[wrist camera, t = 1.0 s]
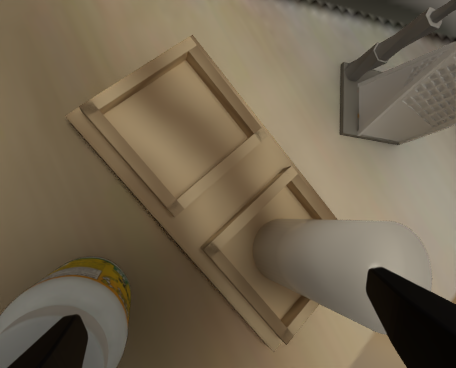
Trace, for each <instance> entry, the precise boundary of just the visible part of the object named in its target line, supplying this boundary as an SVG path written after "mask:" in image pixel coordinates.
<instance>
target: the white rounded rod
mask: <svg viewBox="0 0 456 368" xmlns="http://www.w3.org/2000/svg"><path fill="white" fill-rule="evenodd" d="M253 258H254V262H255V264H256V266H257V268H258V270H259V271H260V272H261V273H262V274H263V275H264V276H265V277H266V278H268V279H270V280H272V281H274V282H276V283H278V284H280V285H282V286H284V287H286V288H288V289H290V290H292V291H294V292H296V293H298V294H300V295H302V296H304V297H306V298H308V299H310V300H312V301H314V302H317V303H319V304H321V305H323V306H325V307H327V308H329V309H331V310H333V311H335V312H337V313H339V314H341V315H343V316H345V317H347V318H349V319H351V320H353V321H355V322H357V323H359V324H361V325H363V326H365V327H367V328H369V329H371V330H373V331H375V332H378V333H381V334H386V335H387V333H386V332H385V330H384V328H383V326H382V324H381V322H380V320H379V318H378V316H377V314H376V312H375V310H374V308H373V306H372V304H371V302H370V300H369V298H368V296H367V293H366V281H367V273H368V270H369V269H370V268H375V267H384V268H386V269H388V270H390V271H392V272H394V273H396V274H398V275H399V276H401V277H403V278H405V279H407V280H409V281H411V282H413V283H415V284H417V285H419V286H421V287H423V288H425V289H427V290H429V291H431V287H432V270H431V264H430V260H429V256H428V254H427V251H426V249H425V247H424V245H423V243H422V242H421V240H420V239H419V237H418V236H417V235H416V234H415V233H414V232H413V231H412V230H411V229H409V228H408V227H407V226H405V225H403V224H400V223H397V222H393V221H362V220H319V219H274V220H271V221H269V222H268V223H266V224H265V225H264V226H262V228H261V229H260V230H259V231H258V233H257V235H256V237H255V240H254V243H253Z"/></svg>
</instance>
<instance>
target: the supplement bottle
mask: <svg viewBox="0 0 456 368" xmlns="http://www.w3.org/2000/svg"><path fill="white" fill-rule="evenodd" d="M130 301H131V290H130V285H129V282H128V279H127V277H126V276H125V274H124V273H123V272H122V270H121V269H120V268H119V267H118V266H117V265H116V264H115V263H113V262H111V261H109V260H107V259H104V258H100V257H83V258H79V259H75V260H72V261H70V262H68V263H66V264H64V265H62V266H61V267H59V268H58V269H56V270H55V271H53V272H52V273H50V274H49V275H48V276H46V277H45V278H43V279H42V280H40V281H39V282H37V283H36V284H35V285H33V286H32V287H30V288H29V289H27V290H26V291H25V292H23V293H22V294H21V295H19V296H18V297H17V298H16V299H15V300H14V301H13V302H12V303H11V304H10V305H9V306H8V307H7V308H6V309H5V310H4V312H3V313H2V314H1V316H0V368H7V367H8V366H9V365H11V364H12V363H13V362H14V361H15V360H16V359H17V358H18V357H19V356H20V355H22V354H23V353H24V352H25V351H26V350H27V349H28V348H29V347H30V346H31V345H33V344H34V343H35V342H36V341H37V340H38V339H39V338H40V337H41V336H42V335H44V334H45V333H46V332H47V331H48V330H49V329H50V328H51V327H52V326H53V325H54V324H56V323H57V322H58V321H59V320H60V319H61V318H62V317H64V316H67V315H73V314H78V315H80V316H81V318H82V321H83V323H84V325H85V328H86V330H87V332H88V343H87V347H86V352H85V356H84V361H83V366H82V368H116V367H117V365H118V364H119V362H120V360H121V357H122V355H123V352H124V349H125V345H126V340H127V336H128V322H129V312H130Z"/></svg>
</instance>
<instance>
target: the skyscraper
mask: <svg viewBox="0 0 456 368" xmlns="http://www.w3.org/2000/svg"><path fill="white" fill-rule="evenodd" d="M454 10H456V0H451V1H449V2H448V3H447V4H445V5H444V6H442V7H440V8H438V9H436V10H435V9H433V8H430V7H429V8H428V9H427V10H426V11H424V12H423V13H422V14H421V15H419V16H418V17H417V18H415V19H414V20H413V21H412V22H410V23H409V24H408V25H406V26H405V27H404V28H403V29H401V30H400V31H399V32H398V33H396V34H395V35H394V36H392V37H390V38H388V39H386V40H385V41H383V42H381V43H376V44H375V45H374V46H373V47H372V48H370V49H369V50H368V51H367V52H366V53H365V54H363V55H362V56H361V57H360V58H359V59H357V60H355V61H353V62H351V63H345V62H343V63H342V64H341V95H340V135H346V136H352V137H357V138H363V139H368V140H374V141H379V142H385V143H391V144H396V145H400V144H403V143H406V142H409V141H412V140H415V139H418V138H421V137H423V136H426V135H429V134H432V133H435V132H438V131H441V130H443V129H446V128H449V127H451V126H454V125H456V42H453V43H451V44H448V45H446V46H444V47H441V48H439V49H436V50H434V51H432V52H429V53H427V54H425V55H422V56H420V57H418V58H415V59H413V60H411V61H408V62H406V63H404V64H401V65H399V66H397V67H395V68H392V69H390V70H388V71H385V72H379V71H375V70H372V69H374V68H376V67H379V66H381V65H383V64H385V63H387V61H388V60H389V58H391V57H392V56H393V55H394V54H396V53H397V52H398V51H399V50H401V49H402V48H404V47H405V46H407V45H409V44H411V43H413V42H414V41H416V40H418V39H420V38H422V37H424V36H426V35H427V34H429V33H431V32H433V31H435V30H436V29H439V27H440V25H441V23H442V19H443V18H444V17H445V16H447V15H448V14H449V13H451V12H452V11H454Z"/></svg>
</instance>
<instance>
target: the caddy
mask: <svg viewBox="0 0 456 368" xmlns="http://www.w3.org/2000/svg"><path fill="white" fill-rule="evenodd" d="M66 118H67V119H68V120H69V122H70V123H71V124H72V125H73V126H74V127H75V129H76V130H77V131H78V132H79V133H80V134H81V135H82V136H83V138H84V139H85V140H86V141H87V142H88V143H89V144H90V146H91V147H92V148H93V149H94V150H95V151H96V152H97V153H98V155H99V156H100V157H101V158H102V159H103V160H104V161H105V162H106V164H107V165H108V166H109V167H110V168H111V169H112V170H113V172H114V173H115V174H116V175H117V176H118V177H119V178H120V179H121V181H122V182H123V183H124V184H125V185H126V186H127V187H128V189H129V190H130V191H131V192H132V193H133V194H134V195H135V196H136V198H137V199H138V200H139V201H140V202H141V203H142V204H143V205H144V207H145V208H146V209H147V210H148V211H149V212H150V213H151V215H152V216H153V217H154V218H155V219H156V220H157V221H158V222H159V224H160V225H161V226H162V227H163V228H164V229H165V230H166V232H167V233H168V234H169V235H170V236H171V237H172V238H173V239H174V241H175V242H176V243H177V244H178V245H179V246H180V247H181V248H182V250H183V251H184V252H185V253H186V254H187V255H188V256H189V258H190V259H191V260H192V261H193V262H194V263H195V264H196V265H197V267H198V268H199V269H200V270H201V271H202V272H203V273H204V275H205V276H206V277H207V278H208V279H209V280H210V281H211V282H212V284H213V285H214V286H215V287H216V288H217V289H218V290H219V291H220V293H221V294H222V295H223V296H224V297H225V298H226V299H227V301H228V302H229V303H230V304H231V305H232V306H233V307H234V308H235V310H236V311H237V312H238V313H239V314H240V315H241V316H242V317H243V319H244V320H245V321H246V322H247V323H248V324H249V325H250V327H251V328H252V329H253V330H254V331H255V332H256V333H257V334H258V336H259V337H260V338H261V339H262V340H263V341H264V342H265V344H266V345H267V346H268V347H269V348H270V349H271V350H272V351H273V352H275V350H276V349H277V348H278V347H279V345H280V344H281V343H282V342H284V343H285V344H286V345H287V344H288V343H289V341H290V340H291V339H292V338H293V336H294V335H295V334H296V333H297V331H298V330H299V329H300V328H301V326H302V325H303V324H304V323H305V322H306V320H307V319H308V318H309V317H310V315H311V314H312V313H313V312H314V310H315V309H316V308H317V307H318V305H319V303H317V302H314V301H312V300H310V299H308V298H306V297H304V296H302V295H300V294H298V293H296V292H294V291H292V290H290V289H288V288H286V287H284V286H282V285H280V284H278V283H276V282H274V281H272V280H270V279H268V278H266V277H265V276H264V275H263V274H262V273H261V272H260V271H259V270H258V268H257V266H256V264H255V262H254V258H253V243H254V240H255V237H256V235H257V233H258V231H259V230H260V229H261V228H262V226H264V225H265V224H266V223H268V222H269V221H271V220H274V219H319V220H337V218H336V217H335V216H334V214H333V213H332V212H331V211H330V209H329V208H328V207H327V206H326V204H325V203H324V202H323V200H322V199H321V198H320V197H319V195H318V194H317V193H316V191H315V190H314V189H313V188H312V186H311V185H310V184H309V183H308V181H307V180H306V179H305V177H304V176H303V175H302V174H301V172H300V171H299V170H298V169H297V167H296V166H295V165H294V163H293V162H292V161H291V160H290V158H289V157H288V156H287V155H286V153H285V152H284V151H283V149H282V148H281V147H280V146H279V144H278V143H277V142H276V141H275V139H274V138H273V137H272V135H271V134H270V133H269V132H268V130H267V129H266V128H265V126H264V125H263V124H262V123H261V121H260V120H259V119H258V118H257V116H256V115H255V114H254V112H253V111H252V110H251V109H250V107H249V106H248V105H247V104H246V102H245V101H244V100H243V98H242V97H241V96H240V95H239V93H238V92H237V91H236V90H235V88H234V87H233V86H232V84H231V83H230V82H229V81H228V79H227V78H226V77H225V75H224V74H223V73H222V72H221V70H220V69H219V68H218V67H217V65H216V64H215V63H214V61H213V60H212V59H211V58H210V56H209V55H208V54H207V53H206V51H205V50H204V49H203V47H202V46H201V45H200V44H199V42H198V41H197V40H196V39H195V37H194V36H193V35H192V36H189V37H188V38H186V39H184V40H183V41H181V42H180V43H178V44H177V45H175V46H173V47H172V48H170V49H169V50H167V51H166V52H164V53H162V54H161V55H159V56H158V57H156V58H154V59H153V60H151V61H150V62H148V63H147V64H145V65H143V66H142V67H140V68H139V69H137V70H136V71H134V72H132V73H131V74H129V75H128V76H126V77H125V78H123V79H121V80H120V81H118V82H117V83H115V84H114V85H112V86H110V87H109V88H107V89H106V90H104V91H103V92H101V93H99V94H98V95H96V96H95V97H93V98H92V99H90V100H88V101H87V102H85V103H84V104H82V105H80V106H79V107H78V108H77V109H75V110H74V111H72V112H70V113H69V114H67V115H66Z"/></svg>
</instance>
